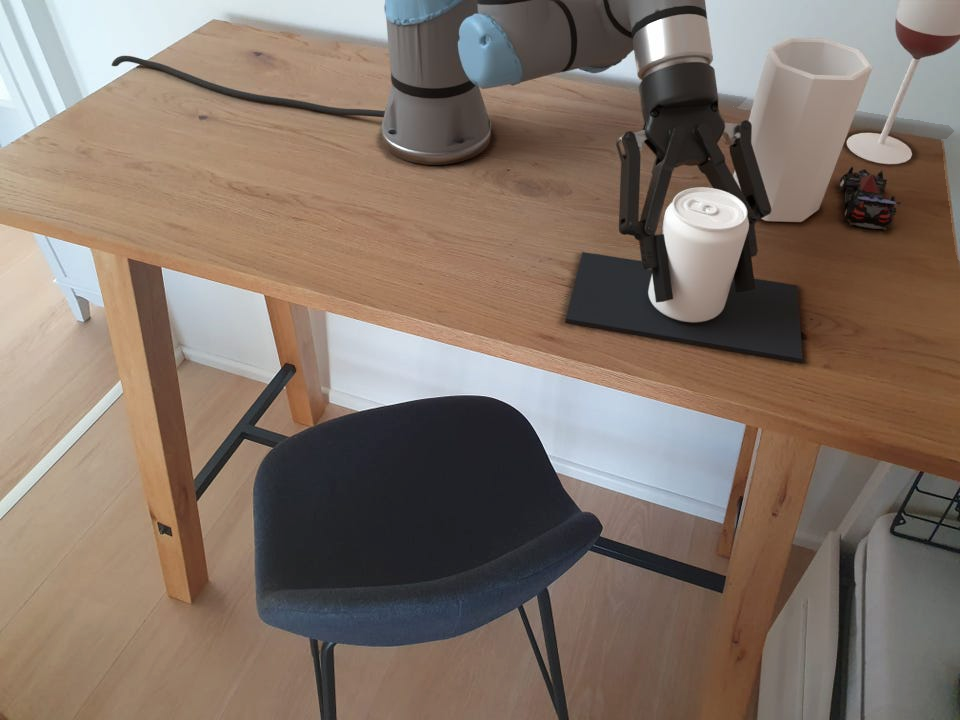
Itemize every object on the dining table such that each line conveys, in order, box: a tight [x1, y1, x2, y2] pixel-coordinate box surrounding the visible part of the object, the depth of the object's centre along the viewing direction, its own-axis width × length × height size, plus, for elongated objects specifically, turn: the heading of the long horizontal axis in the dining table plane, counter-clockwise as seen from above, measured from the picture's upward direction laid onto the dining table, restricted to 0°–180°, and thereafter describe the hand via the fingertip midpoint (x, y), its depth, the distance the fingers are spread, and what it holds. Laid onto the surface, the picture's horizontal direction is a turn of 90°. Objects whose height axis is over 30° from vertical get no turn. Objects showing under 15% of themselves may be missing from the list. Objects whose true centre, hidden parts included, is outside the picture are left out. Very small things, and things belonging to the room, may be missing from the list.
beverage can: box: [648, 186, 749, 322], centre depth 78 cm, size 8×8×12 cm
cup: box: [732, 37, 873, 223], centre depth 91 cm, size 11×11×18 cm
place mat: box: [564, 251, 804, 364], centre depth 83 cm, size 24×12×1 cm, turn 76°
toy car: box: [839, 165, 902, 231], centre depth 96 cm, size 6×12×4 cm, turn 166°
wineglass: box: [846, 0, 960, 165], centre depth 99 cm, size 9×10×23 cm
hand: (705, 295), depth 78 cm, fingers closed on beverage can, 8 cm apart
